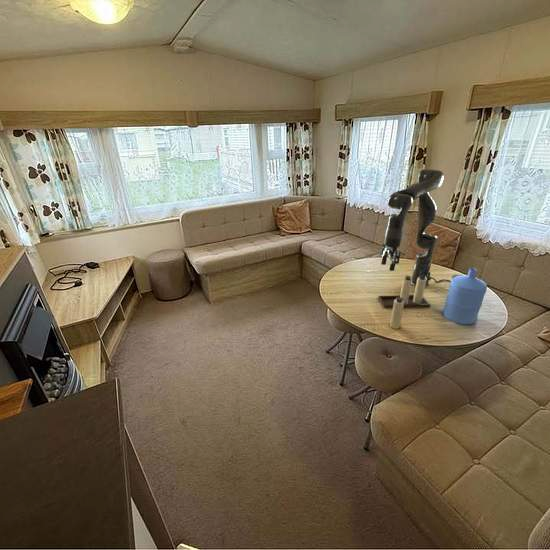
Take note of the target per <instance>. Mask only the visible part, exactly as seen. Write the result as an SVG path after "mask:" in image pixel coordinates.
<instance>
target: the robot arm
mask: <svg viewBox="0 0 550 550" xmlns="http://www.w3.org/2000/svg"><path fill="white" fill-rule="evenodd" d="M443 180H444V172H443V171H442V170H439V169H429V168H423V169H421V170H420V171H419V172H418V175H417V182H415V183H413V184H410V185H408V186H407V187H406V188H404V189H400V190H398V191H394V192H393V193H391V194H390V196H389V197H388V199H387V206H388V207H389V208H391V209H393V210H399V212H398V213H391V214H390V215H389V217H388V221H387V226H386V227H387V228H386V230H385V234H384V241H383V243H382V244H381V248H380V253H379V254H380V256H381V263H380V265H382V266H385V265H386V264H387V260H388V259H389V261H390V264H389V270H388V271H390V272H394V271H395V269H396V265H398V264H400V259H401V251H398V248H400V246H401V242H402V237H403V233H404V225H405V220H406V218H407V215H408V213H409V211H410V210H411V208H412V206H413V202H414V201H416V200H417V199H418V201H417V202H418V205H417V230H416V239H415V245H416V248H417V249H421V250H425V252H418V253H417V254H416V255H415V259H414V264H413V269H412V275H411V279H412V284H411V286H415V287H416V283H417V279H418V277H420V276H421V275H423V276H425V278H426V279H427V280H426V285H425V287H426V286H428V285H429V282H430V281H431V280H434V282H435V283H440V282H442V281H445V282H450V283H451V281H452V280H450V279H445V278H444V279H443V278H442V279H440V280H436V278H434V277H432V276H431V274H432V273H431V266H432V263H433V262H432V261H433V258H434V254H435V250H436V247H437V243H438V236H437V235H434V234H428V233H425V231H426V230H427V228H428V227H429V226H431V224H432V223H433V222H434V221H435V220H436V218H437V205H436V203H435V201H434V199H433V198H432V197H431V195H430V193H429V192H432V191H434V190H437V189H438V188H440V187H441V185H442V183H443ZM387 257H388V258H387Z"/></svg>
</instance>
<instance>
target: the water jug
mask: <svg viewBox="0 0 550 550" xmlns="http://www.w3.org/2000/svg"><path fill="white" fill-rule="evenodd" d="M477 271H478V269H477V268H474V267H470V268H469V269H468V272H467V275H464V276H456V277H454V278H453V279H452V278H451V280H450V281H451V282H450V284H449V289H448V293H447V295H446V299H445V304H444V307H443V309H442V314H443V316H444V317H445V318H446V319H447V320H449V321H451V322H452V323H456V324H459V325H473V324H475V323H476V322H477V320H478V317H479V316H478V315H479V313H480V310H481V308H482V304H483V300H484V297H485V295H486V293H487V288H488V284H487V283H486V282H485V281H484V280H482V279H480V278H477V277H476V274H477Z"/></svg>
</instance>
